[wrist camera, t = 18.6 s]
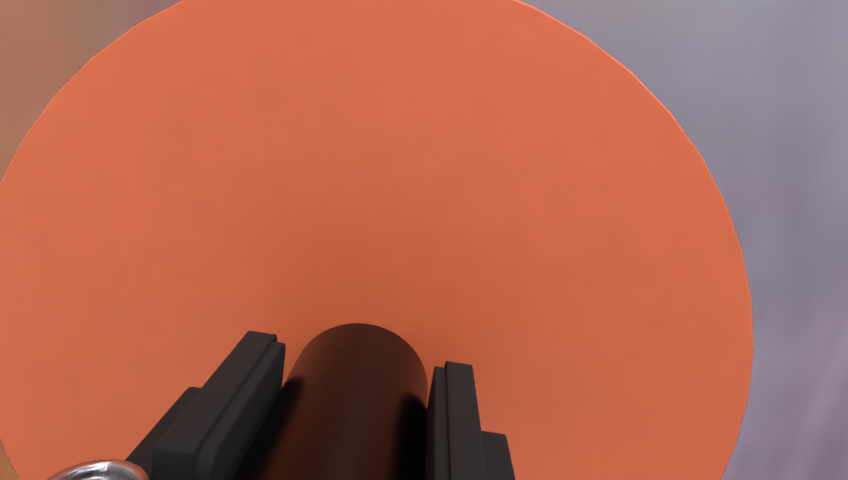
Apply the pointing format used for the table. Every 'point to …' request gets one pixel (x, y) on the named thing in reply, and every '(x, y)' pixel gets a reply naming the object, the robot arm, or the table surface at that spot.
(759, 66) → the table surface
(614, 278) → the lid
